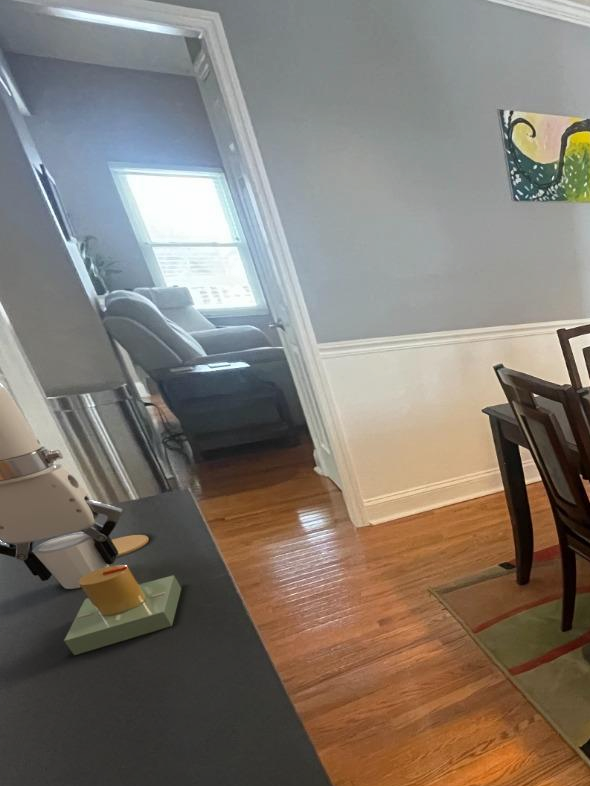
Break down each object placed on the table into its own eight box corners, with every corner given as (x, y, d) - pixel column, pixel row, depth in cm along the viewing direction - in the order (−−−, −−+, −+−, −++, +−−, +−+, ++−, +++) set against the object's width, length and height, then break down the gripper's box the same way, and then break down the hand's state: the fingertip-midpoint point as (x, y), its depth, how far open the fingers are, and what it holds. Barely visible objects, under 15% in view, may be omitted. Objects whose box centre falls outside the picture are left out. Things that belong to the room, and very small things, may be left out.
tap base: (74, 655, 79) (62, 639, 78) (94, 612, 88) (84, 598, 86) (172, 626, 84) (162, 610, 83) (181, 588, 93) (173, 574, 91)
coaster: (79, 566, 100) (77, 564, 100) (90, 546, 106) (89, 544, 106) (144, 549, 104) (143, 547, 104) (152, 532, 111) (151, 530, 110)
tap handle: (95, 620, 82) (72, 586, 79) (102, 603, 85) (81, 571, 83) (143, 606, 84) (123, 573, 81) (148, 590, 88) (129, 559, 85)
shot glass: (72, 594, 92) (46, 555, 89) (48, 587, 95) (21, 549, 91) (126, 571, 98) (103, 534, 95) (101, 564, 100) (78, 528, 97)
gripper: (99, 445, 94) (155, 542, 103) (-66, 474, 86) (10, 577, 94) (88, 458, 89) (148, 560, 97) (-89, 490, 80) (-6, 599, 88)
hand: (80, 567), depth 95 cm, fingers closed on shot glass, 6 cm apart
